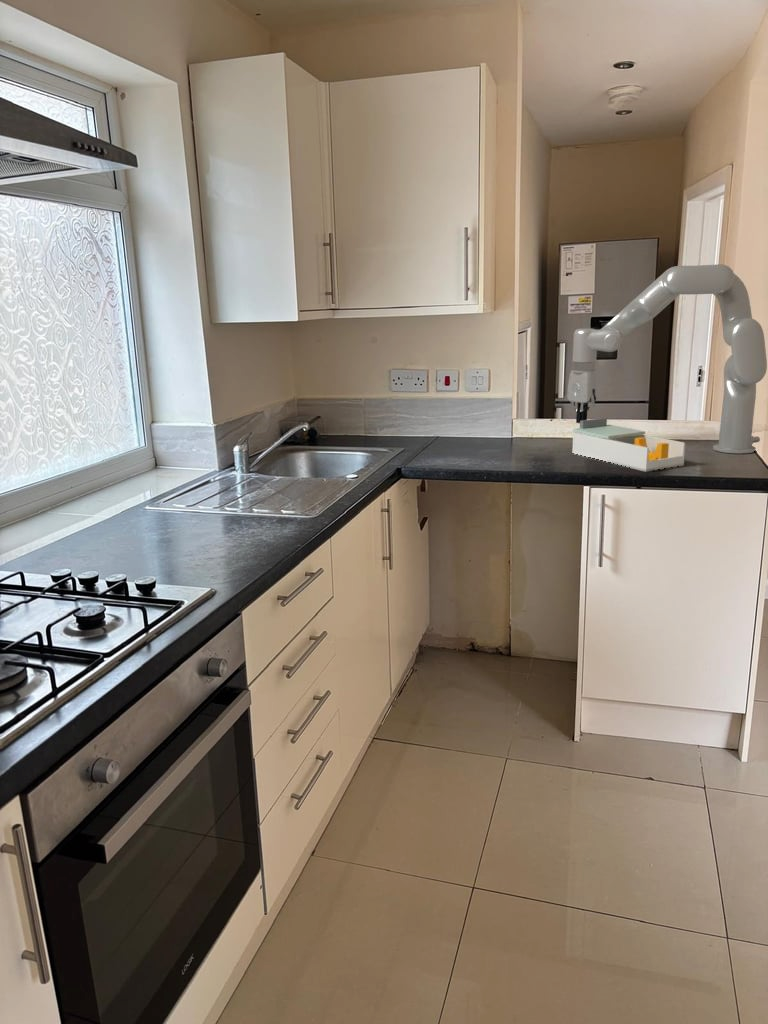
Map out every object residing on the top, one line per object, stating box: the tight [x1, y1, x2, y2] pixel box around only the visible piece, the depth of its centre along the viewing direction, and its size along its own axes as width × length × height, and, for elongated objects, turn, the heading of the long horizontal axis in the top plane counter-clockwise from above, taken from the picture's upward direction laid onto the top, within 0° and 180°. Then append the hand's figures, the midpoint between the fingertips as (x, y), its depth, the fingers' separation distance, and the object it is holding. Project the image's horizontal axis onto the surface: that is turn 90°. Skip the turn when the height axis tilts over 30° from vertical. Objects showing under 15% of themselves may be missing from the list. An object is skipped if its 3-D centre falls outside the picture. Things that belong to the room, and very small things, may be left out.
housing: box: [571, 431, 686, 473], centre depth 244 cm, size 15×32×7 cm, turn 27°
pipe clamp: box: [634, 437, 669, 461], centre depth 237 cm, size 12×4×6 cm, turn 22°
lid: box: [572, 417, 646, 439], centre depth 249 cm, size 15×16×3 cm
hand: (581, 422), depth 261 cm, fingers closed
